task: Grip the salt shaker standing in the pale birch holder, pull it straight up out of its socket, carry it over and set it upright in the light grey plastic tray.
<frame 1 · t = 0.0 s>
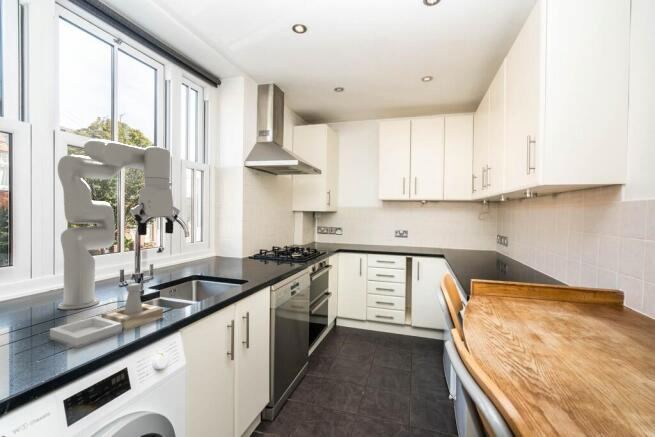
hand: (156, 234, 97), 31 cm above the worktop, tool pointing down, fingers open, 9 cm apart
salt shaker: (133, 320, 101), resting in birch holder
birch holder: (133, 320, 101), on the worktop
grey tray: (87, 335, 88), on the worktop
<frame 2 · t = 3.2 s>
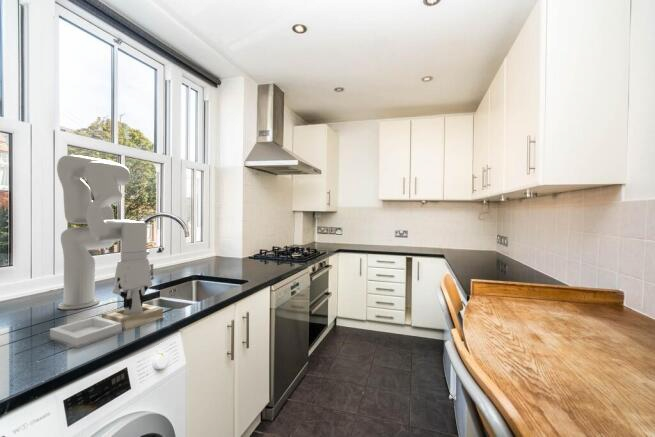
hand: (133, 307, 101), 5 cm above the worktop, tool pointing down, fingers closed on salt shaker, 3 cm apart
salt shaker: (133, 320, 101), resting in birch holder, touching gripper
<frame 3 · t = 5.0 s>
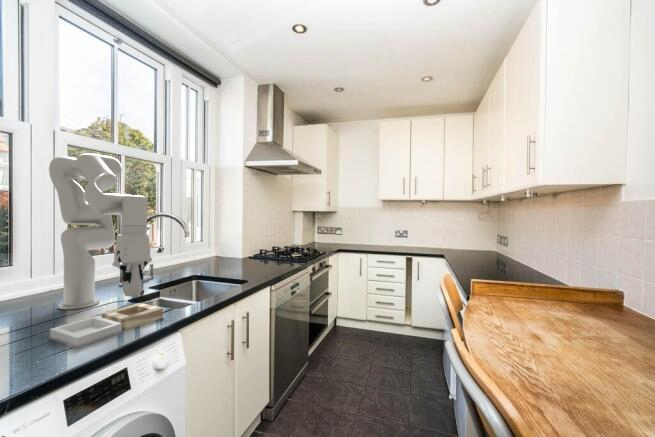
hand: (132, 281, 101), 14 cm above the worktop, tool pointing down, fingers closed on salt shaker, 3 cm apart
salt shaker: (132, 295, 101), point 9 cm above the worktop, touching gripper
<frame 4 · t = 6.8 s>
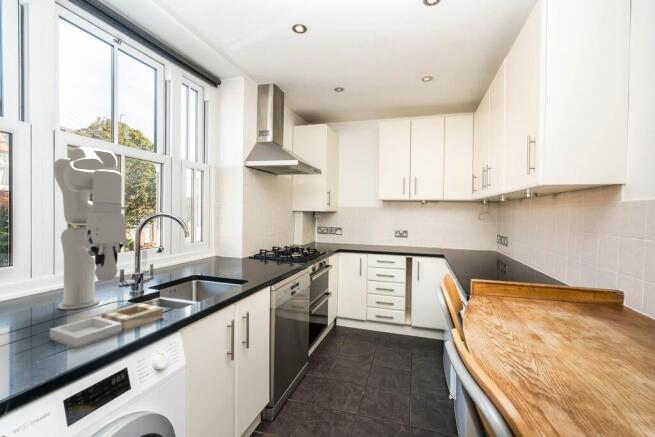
hand: (106, 264, 92), 21 cm above the worktop, tool pointing down, fingers closed on salt shaker, 3 cm apart
salt shaker: (106, 280, 93), point 16 cm above the worktop, touching gripper
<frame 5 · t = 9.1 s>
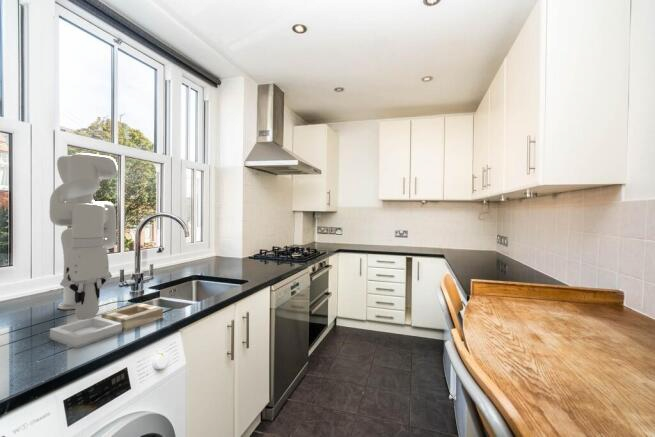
hand: (87, 302, 88), 10 cm above the worktop, tool pointing down, fingers closed on salt shaker, 3 cm apart
salt shaker: (87, 318, 88), point 6 cm above the worktop, touching gripper
when the fingers open (7 cm above the worktop, at t = 10.6 s): salt shaker stays where it is, resting on grey tray.
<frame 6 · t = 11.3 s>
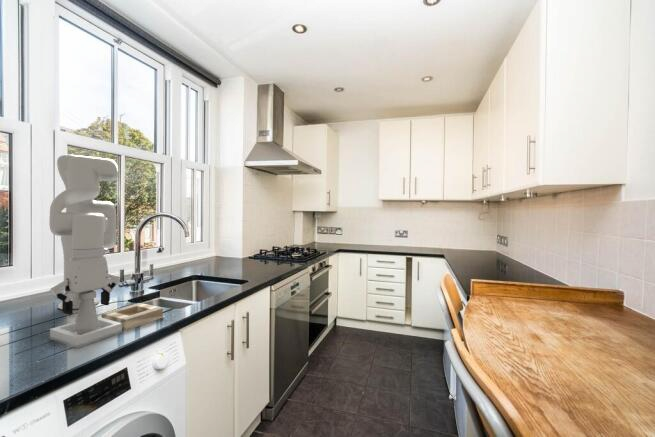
hand: (87, 309, 88), 8 cm above the worktop, tool pointing down, fingers open, 9 cm apart
salt shaker: (86, 333, 88), point 1 cm above the worktop, touching grey tray
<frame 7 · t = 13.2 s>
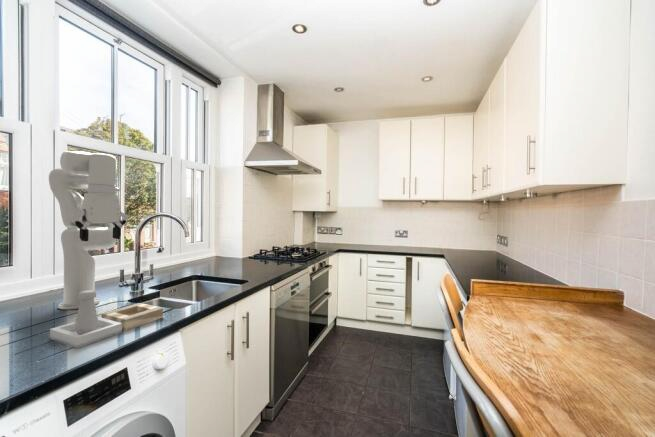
hand: (101, 239, 99), 29 cm above the worktop, tool pointing down, fingers open, 9 cm apart
nothing on the worktop moved.
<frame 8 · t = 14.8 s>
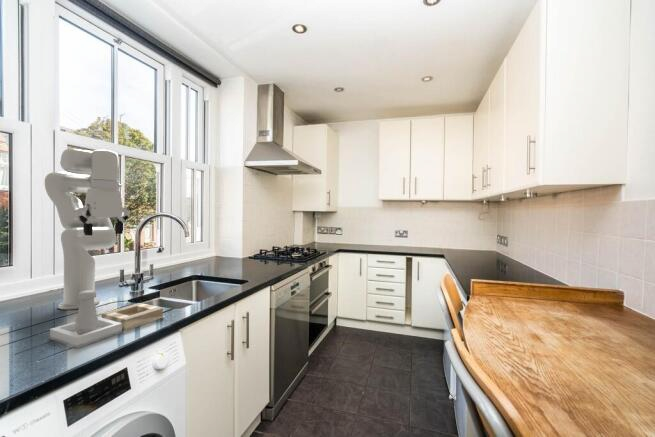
hand: (104, 234, 101), 30 cm above the worktop, tool pointing down, fingers open, 9 cm apart
nothing on the worktop moved.
at the end: salt shaker 0.2 cm off-centre on the grey tray, point 0.6 cm above the grey tray's base; salt shaker tilted 0°; the gripper is holding nothing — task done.
